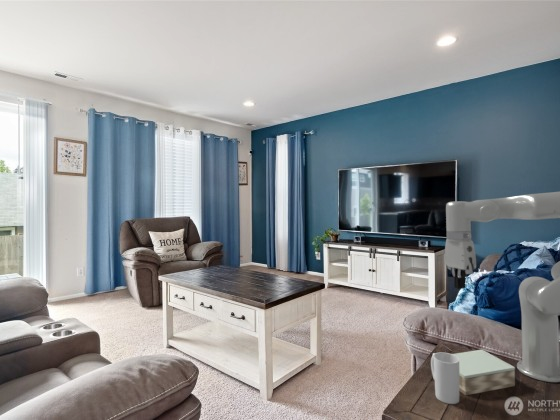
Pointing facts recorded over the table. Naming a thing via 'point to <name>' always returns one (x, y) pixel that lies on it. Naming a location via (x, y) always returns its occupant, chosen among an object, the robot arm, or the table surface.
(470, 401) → the table surface
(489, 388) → the beige box
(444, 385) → the mug
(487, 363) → the lid
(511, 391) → the table surface
